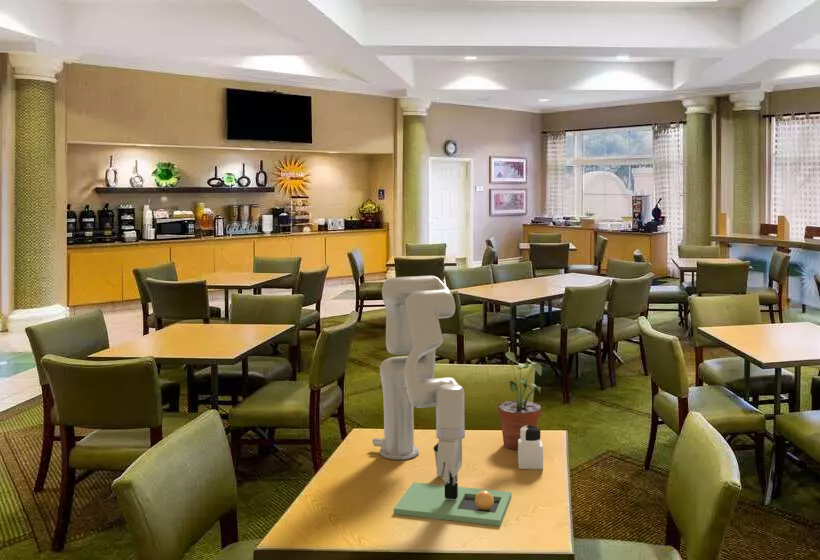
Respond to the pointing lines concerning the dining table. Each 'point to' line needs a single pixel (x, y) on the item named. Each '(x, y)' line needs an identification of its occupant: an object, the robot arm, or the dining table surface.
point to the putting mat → (451, 504)
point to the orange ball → (484, 500)
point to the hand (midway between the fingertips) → (451, 497)
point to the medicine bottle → (530, 448)
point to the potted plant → (518, 408)
